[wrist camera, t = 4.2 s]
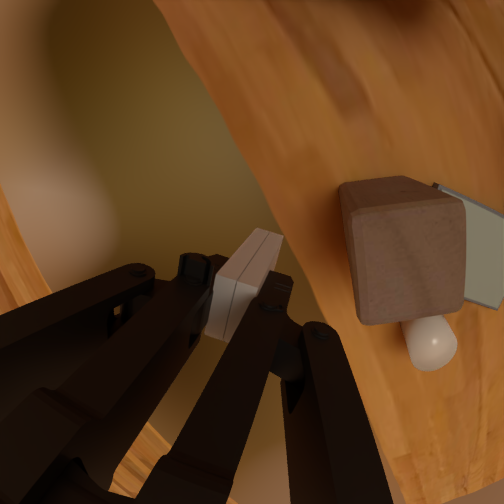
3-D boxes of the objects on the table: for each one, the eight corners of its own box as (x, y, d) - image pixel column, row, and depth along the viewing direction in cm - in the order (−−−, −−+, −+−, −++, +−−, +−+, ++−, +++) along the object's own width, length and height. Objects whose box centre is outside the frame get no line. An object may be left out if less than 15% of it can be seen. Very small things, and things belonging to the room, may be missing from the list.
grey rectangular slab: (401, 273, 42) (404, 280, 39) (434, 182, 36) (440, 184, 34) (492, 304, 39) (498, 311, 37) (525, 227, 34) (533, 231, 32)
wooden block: (407, 174, 37) (469, 198, 19) (413, 244, 40) (466, 314, 21) (337, 183, 40) (346, 213, 21) (347, 253, 43) (358, 331, 24)
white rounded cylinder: (392, 330, 45) (402, 366, 36) (411, 293, 42) (426, 324, 34) (427, 340, 44) (441, 374, 36) (447, 304, 41) (465, 335, 33)
